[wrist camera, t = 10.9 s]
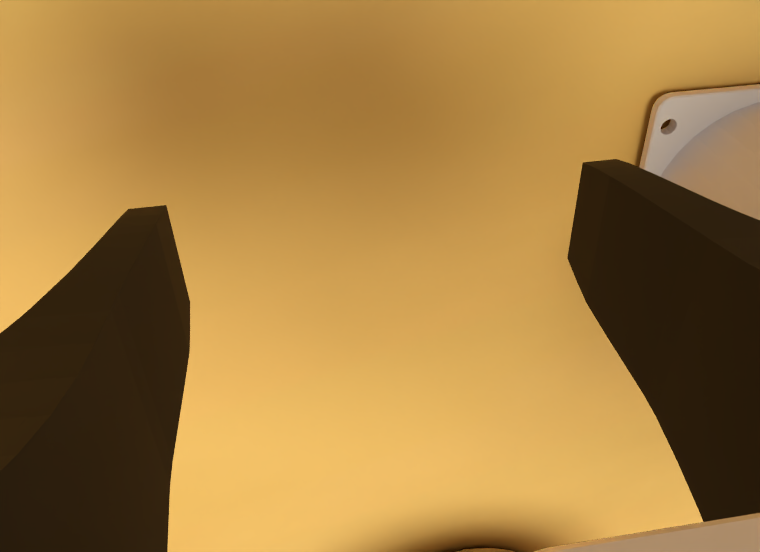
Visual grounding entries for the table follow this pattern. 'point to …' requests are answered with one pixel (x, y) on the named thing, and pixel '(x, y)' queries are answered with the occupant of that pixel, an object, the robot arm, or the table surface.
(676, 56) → the table surface
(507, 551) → the planter bowl
